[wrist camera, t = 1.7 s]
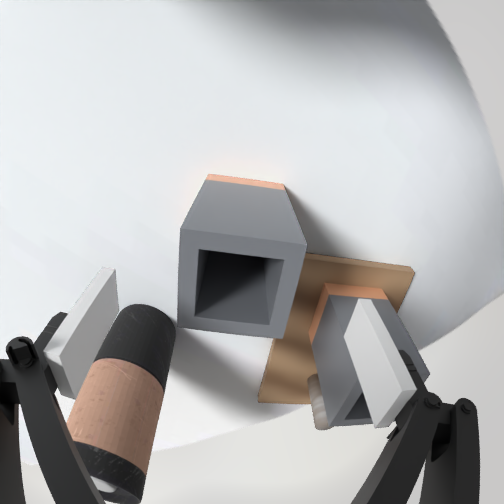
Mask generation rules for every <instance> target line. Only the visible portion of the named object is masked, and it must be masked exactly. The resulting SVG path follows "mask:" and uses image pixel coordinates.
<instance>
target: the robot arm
mask: <svg viewBox="0 0 504 504" xmlns="http://www.w3.org/2000/svg"><path fill="white" fill-rule="evenodd" d="M118 312H119V304H118V295H117V284H116V272H115V269H112V268H106V267H102V268H101V270H100V271H99V272H98V273H97V275H96V276H95V277H94V279H93V280H92V281H91V283H90V284H89V285H88V287H87V288H86V289H85V291H84V292H83V294H82V295H81V296H80V298H79V299H78V300H77V302H76V303H75V305H74V306H73V307H72V309H71V310H70V312H69V313H68V314H67V313H63V312H60V313H58V314H57V315H55V316H54V317H52V319H51V320H50V321H49V323H48V324H47V326H46V327H45V328H44V330H43V332H42V333H41V334H40V336H39V337H38V338H37V340H36V341H35V343H34V344H33V342H32V340H31V339H29V338H28V337H24V336H22V337H16V338H14V339H12V340H11V341H10V342H9V343H8V345H7V346H6V353H7V355H8V357H9V359H10V360H9V359H0V504H26V502H25V496H24V489H23V482H22V473H21V462H20V448H19V404H21V408H22V412H23V416H24V419H25V423H26V426H27V430H28V433H29V436H30V439H31V442H32V446H33V448H34V451H35V454H36V457H37V460H38V463H39V465H40V468H41V470H42V473H43V475H44V478H45V480H46V483H47V485H48V488H49V490H50V492H51V494H52V497H53V499H54V501H55V503H56V504H106V503H105V502H104V500H103V498H102V496H101V494H100V493H99V491H98V489H97V487H96V486H95V484H94V482H93V480H92V478H91V476H90V474H89V472H88V471H87V469H86V467H85V465H84V463H83V461H82V458H81V456H80V454H79V452H78V450H77V448H76V446H75V443H74V441H73V439H72V437H71V434H70V432H69V430H68V427H67V425H66V422H65V420H64V417H63V415H62V412H61V409H60V407H59V404H58V401H57V399H56V396H55V394H54V393H55V391H56V389H57V387H58V389H59V391H60V394H61V395H63V396H66V397H69V398H72V399H75V400H76V398H77V396H78V394H79V391H80V389H81V387H82V385H83V383H84V380H85V378H86V376H87V374H88V372H89V370H90V368H91V365H92V363H93V361H94V359H95V357H96V355H97V353H98V351H99V349H100V347H101V345H102V343H103V341H104V339H105V337H106V335H107V333H108V331H109V329H110V327H111V325H112V323H113V321H114V320H115V318H116V316H117V314H118ZM344 339H345V341H346V344H347V347H348V350H349V353H350V355H351V358H352V361H353V364H354V367H355V370H356V373H357V376H358V379H359V381H360V384H361V387H362V390H363V393H364V396H365V399H366V402H367V406H368V409H369V412H370V415H371V418H372V421H373V424H374V427H375V428H382V427H389V426H390V424H391V423H392V422H393V421H394V419H395V421H396V424H397V426H396V427H395V429H394V430H393V431H392V432H391V433H390V434H389V436H388V437H387V439H389V440H388V442H387V444H386V446H385V447H384V449H383V451H382V453H381V455H380V457H379V459H378V460H377V462H376V464H375V466H374V467H373V469H372V471H371V472H370V474H369V476H368V478H367V479H366V481H365V483H364V484H363V486H362V487H361V489H360V490H359V492H358V493H357V495H356V497H355V498H354V500H353V501H352V503H351V504H406V503H407V501H408V499H409V497H410V495H411V492H412V490H413V488H414V485H415V483H416V481H417V479H418V477H419V474H420V472H421V469H422V467H423V464H424V462H425V459H426V463H425V470H424V478H423V484H422V491H421V498H420V502H419V504H479V490H480V447H479V430H478V417H477V409H476V406H475V405H474V403H473V402H471V401H470V400H468V399H466V398H461V399H459V400H458V401H457V402H456V403H455V404H454V405H453V404H447V403H442V401H441V399H440V398H439V397H438V396H437V395H435V394H434V393H431V392H428V391H427V389H426V387H425V385H424V383H423V381H422V379H421V377H420V375H419V373H418V372H417V369H416V367H415V366H414V363H413V361H412V359H411V357H410V356H409V355H408V354H407V353H406V352H405V351H404V350H397V348H396V346H395V344H394V342H393V340H392V338H391V336H390V334H389V332H388V331H387V329H386V327H385V325H384V323H383V321H382V319H381V317H380V316H379V314H378V312H377V310H376V308H375V306H374V305H373V303H372V301H371V299H358V301H357V304H356V307H355V309H354V312H353V314H352V317H351V320H350V322H349V325H348V327H347V330H346V332H345V334H344Z"/></svg>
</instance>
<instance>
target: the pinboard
mask: <svg viewBox="0 0 504 504" xmlns="http://www.w3.org/2000/svg"><path fill="white" fill-rule="evenodd" d="M414 273H415V272H414V271H413V270H412V268H411V267H408V266H400V265H393V264H386V263H378V262H371V261H363V260H356V259H348V258H341V257H333V256H325V255H318V254H310V253H305V257H304V261H303V265H302V269H301V273H300V277H299V281H298V284H297V288H296V292H295V296H294V300H293V303H292V307H291V311H290V314H289V318H288V321H287V325H286V329H285V332H284V336H283V339H278V338H273V342H272V346H271V349H270V353H269V357H268V361H267V364H266V368H265V372H264V375H263V379H262V382H261V386H260V390H259V393H258V402H261V403H281V404H311V406H312V412H313V417H314V423H315V428H316V429H318V430H327V429H330V428H332V427H334V426H331V427H329V426H328V421H327V416H326V411H325V406H324V401H323V396H322V392H321V387H320V382H319V378H318V373H317V368H316V364H315V359H314V355H313V350H312V346H311V342H310V337H309V333H308V332H309V329H310V326H311V323H312V320H313V317H314V314H315V311H316V308H317V305H318V302H319V299H320V295H321V292H322V289H323V286H324V283H333V284H342V285H352V286H361V287H371V288H381V289H382V290H383V291H384V293H385V295H386V296H387V298H388V300H389V301H390V303H391V305H392V306H393V308H394V310H395V311H396V313H397V312H398V310H399V308H400V306H401V304H402V301H403V299H404V297H405V295H406V292H407V290H408V288H409V285H410V283H411V281H412V278H413V276H414Z"/></svg>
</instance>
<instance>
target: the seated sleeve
mask: <svg viewBox="0 0 504 504" xmlns="http://www.w3.org/2000/svg"><path fill="white" fill-rule="evenodd" d="M358 299H371V301H372V303H373V305H374V306H375V308H376V310H377V312H378V314H379V316H380V317H381V319H382V321H383V323H384V325H385V327H386V329H387V331H388V332H389V334H390V336H391V338H392V340H393V342H394V344H395V346H396V348H397V350H404V351H405V352H406V353H407V354H408V355H409V356H410V357H411V359H412V361H413V363H414V366H415V367H416V369H417V372H418V373H419V375H420V377H421V379H422V381H423V383H424V382H425V381H426V379H427V378H428V376H429V375H430V372H429V371H428V369H427V367H426V365H425V363H424V361H423V359H422V358H421V356H420V354H419V352H418V350H417V348H416V346H415V345H414V343H413V341H412V339H411V337H410V336H409V334H408V332H407V330H406V329H405V327H404V325H403V323H402V322H401V320H400V318H399V316H398V315H397V313H396V311H395V310H394V308H393V306H392V305H391V303H390V301H389V300H388V298H387V296H386V295H385V293H384V291H383V290H382V289H381V288H371V287H361V286H352V285H342V284H333V283H324V286H323V289H322V292H321V295H320V299H319V302H318V305H317V308H316V311H315V314H314V317H313V320H312V323H311V326H310V329H309V332H308V333H309V337H310V342H311V346H312V350H313V355H314V359H315V364H316V368H317V373H318V378H319V382H320V387H321V392H322V396H323V401H324V406H325V411H326V416H327V421H328V426H329V427H331V426H351V425H364V424H373V421H372V418H371V415H370V412H369V409H368V406H367V402H366V399H365V396H364V393H363V390H362V387H361V384H360V381H359V379H358V376H357V373H356V370H355V367H354V364H353V361H352V358H351V355H350V353H349V350H348V347H347V344H346V341H345V339H344V334H345V332H346V330H347V327H348V325H349V322H350V320H351V317H352V314H353V312H354V309H355V307H356V304H357V301H358ZM394 421H395V419H394ZM394 421H393V422H394Z"/></svg>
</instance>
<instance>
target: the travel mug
mask: <svg viewBox="0 0 504 504" xmlns="http://www.w3.org/2000/svg"><path fill="white" fill-rule="evenodd" d="M174 342H175V328H174V325H173V323H172V322H171V320H170V319H169V318H168V317H167V316H166V315H165V314H164V313H163V312H161V311H160V310H158V309H156V308H154V307H151V306H148V305H143V304H134V305H130V306H127V307H126V308H124V309H123V310H122V311H121V312H120V313H119V315H118V316H117V318H116V320H115V321H114V323H113V325H112V327H111V328H110V330H109V332H108V334H107V336H106V338H105V339H104V341H103V343H102V345H101V347H100V349H99V351H98V353H97V355H96V357H95V359H94V361H93V363H92V365H91V368H90V370H89V372H88V374H87V376H86V378H85V380H84V383H83V385H82V387H81V389H80V391H79V394H78V396H77V398H76V401H75V403H74V405H73V408H72V410H71V413H70V415H69V418H68V420H67V423H66V425H67V427H68V430H69V432H70V434H71V437H72V439H73V441H74V443H75V446H76V448H77V450H78V452H79V454H80V456H81V458H82V461H83V463H84V465H85V467H86V469H87V471H88V472H89V474H90V476H91V478H92V480H93V482H94V484H95V486H96V487H97V489H98V491H99V493H100V494H101V496H102V498H103V500H105V501H109V502H113V503H118V504H139V503H140V502H141V500H142V496H143V490H144V485H145V480H146V475H147V470H148V465H149V460H150V455H151V451H152V446H153V441H154V437H155V432H156V428H157V423H158V419H159V415H160V410H161V406H162V402H163V398H164V393H165V387H166V382H167V377H168V372H169V367H170V362H171V357H172V352H173V347H174Z"/></svg>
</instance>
